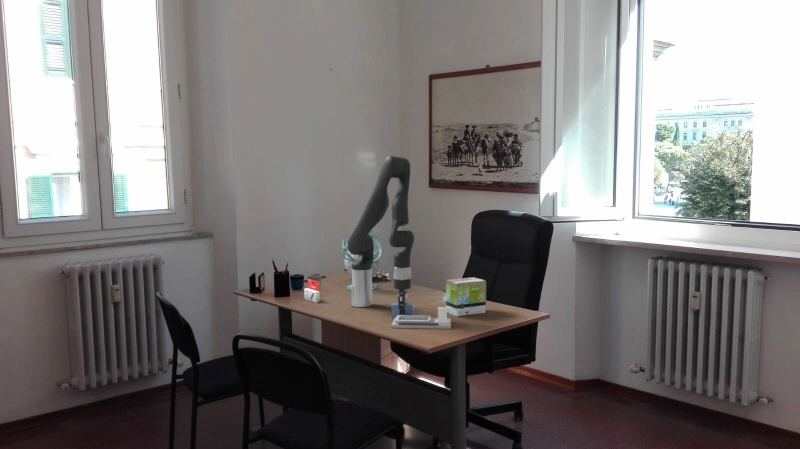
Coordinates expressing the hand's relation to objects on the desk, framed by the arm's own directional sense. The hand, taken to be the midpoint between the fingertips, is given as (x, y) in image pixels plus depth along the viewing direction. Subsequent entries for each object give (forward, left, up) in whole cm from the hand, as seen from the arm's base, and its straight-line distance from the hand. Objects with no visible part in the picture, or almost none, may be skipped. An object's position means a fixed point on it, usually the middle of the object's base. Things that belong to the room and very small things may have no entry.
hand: (402, 316), depth 281 cm
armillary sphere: (-27, +61, -1) cm, 67 cm away
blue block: (0, 0, -1) cm, 1 cm away
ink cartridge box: (-47, +31, -1) cm, 57 cm away
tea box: (+27, +10, -1) cm, 29 cm away
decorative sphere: (-31, +85, -1) cm, 91 cm away
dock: (+9, -11, -1) cm, 14 cm away
